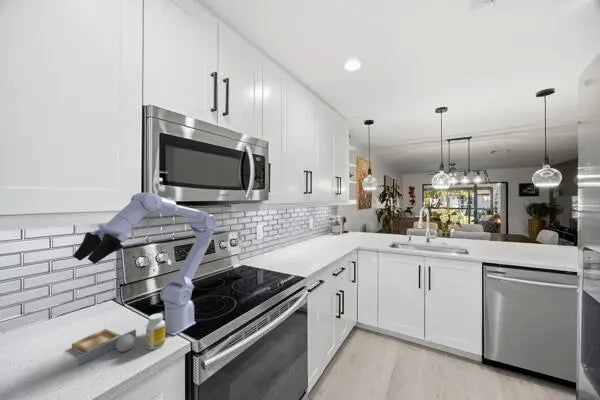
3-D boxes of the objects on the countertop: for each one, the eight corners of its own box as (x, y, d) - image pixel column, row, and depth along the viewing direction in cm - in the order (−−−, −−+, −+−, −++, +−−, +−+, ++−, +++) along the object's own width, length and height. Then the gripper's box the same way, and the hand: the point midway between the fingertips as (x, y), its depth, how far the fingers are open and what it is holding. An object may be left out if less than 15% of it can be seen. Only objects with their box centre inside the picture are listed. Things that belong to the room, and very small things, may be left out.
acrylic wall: (134, 336, 88) (134, 329, 87) (136, 336, 87) (135, 329, 87) (78, 364, 73) (77, 356, 73) (79, 365, 73) (79, 356, 73)
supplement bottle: (143, 350, 80) (142, 320, 79) (151, 340, 85) (150, 312, 85) (161, 349, 80) (160, 319, 80) (168, 339, 86) (167, 311, 85)
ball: (129, 344, 83) (128, 329, 83) (138, 348, 81) (137, 333, 81) (112, 352, 79) (112, 337, 79) (122, 356, 77) (121, 341, 76)
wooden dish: (105, 333, 90) (105, 328, 90) (121, 339, 85) (121, 335, 85) (71, 348, 81) (71, 343, 81) (87, 356, 77) (87, 351, 77)
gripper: (100, 212, 77) (57, 248, 68) (128, 213, 70) (85, 253, 62) (117, 227, 81) (79, 263, 72) (145, 230, 75) (107, 269, 66)
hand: (83, 259), depth 67 cm, fingers open, 7 cm apart
